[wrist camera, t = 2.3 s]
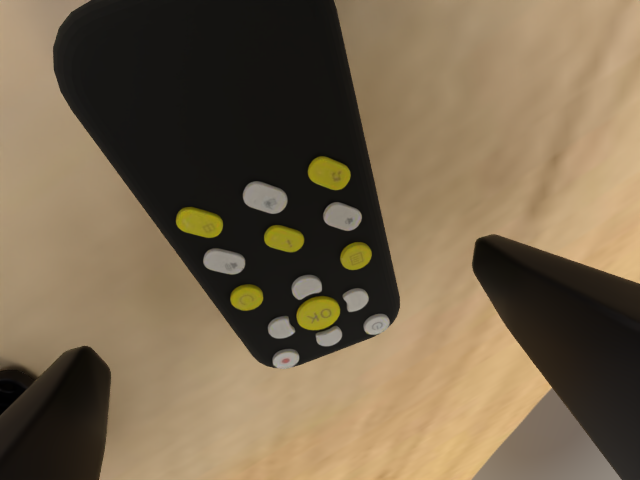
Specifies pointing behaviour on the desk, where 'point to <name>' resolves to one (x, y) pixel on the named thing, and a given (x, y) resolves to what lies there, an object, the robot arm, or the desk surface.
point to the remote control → (242, 159)
